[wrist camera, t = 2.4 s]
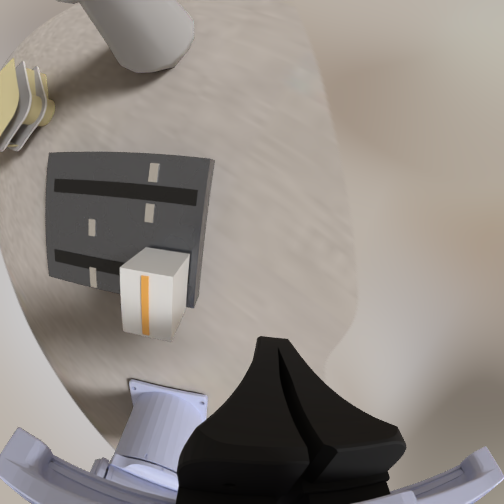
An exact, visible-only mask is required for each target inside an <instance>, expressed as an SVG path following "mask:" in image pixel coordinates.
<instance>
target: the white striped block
mask: <svg viewBox="0 0 504 504" xmlns="http://www.w3.org/2000/svg"><path fill="white" fill-rule="evenodd" d="M189 258H190V254H187V253H181V252H174V251H168V250H161V249H155V248H148V247H145V248H144V249H143V250H142V251H140V252H139V253H138V254H136V255H135V256H134V257H132V258H131V259H130V260H128V261H127V262H126V263H125V264H123V265H122V266H121V267H120V293H121V311H122V324H123V331H124V332H128V333H132V334H136V335H140V336H145V337H149V338H154V339H158V340H163V341H168V342H172V340H173V337H174V335H175V333H176V330H177V328H178V326H179V324H180V321H181V319H182V317H183V314H184V312H185V310H186V297H187V283H188V270H189Z"/></svg>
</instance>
